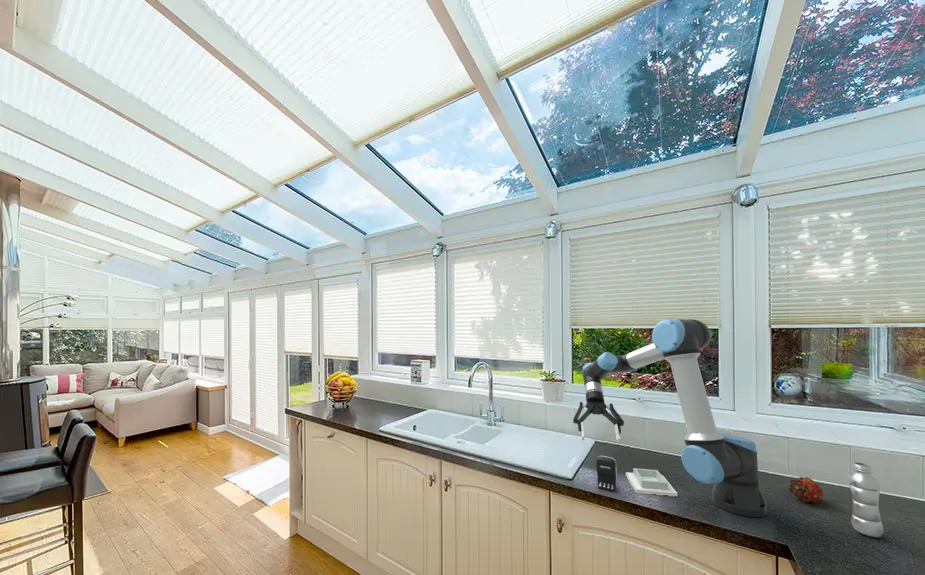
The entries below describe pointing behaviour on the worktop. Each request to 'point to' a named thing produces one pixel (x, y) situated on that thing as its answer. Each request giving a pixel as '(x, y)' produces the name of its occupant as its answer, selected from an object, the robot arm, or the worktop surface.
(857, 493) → the plastic bottle
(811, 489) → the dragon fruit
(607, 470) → the black battery charger
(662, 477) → the tray
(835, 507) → the worktop surface
